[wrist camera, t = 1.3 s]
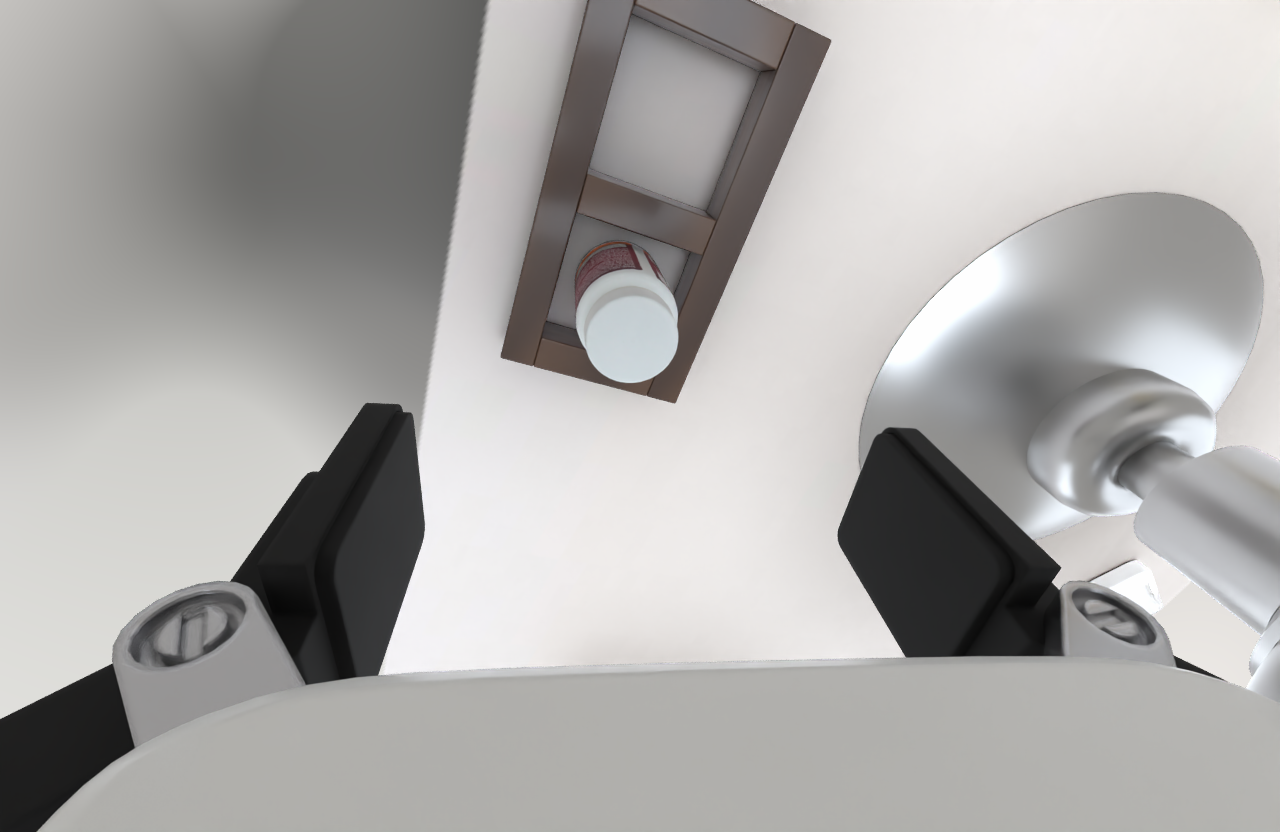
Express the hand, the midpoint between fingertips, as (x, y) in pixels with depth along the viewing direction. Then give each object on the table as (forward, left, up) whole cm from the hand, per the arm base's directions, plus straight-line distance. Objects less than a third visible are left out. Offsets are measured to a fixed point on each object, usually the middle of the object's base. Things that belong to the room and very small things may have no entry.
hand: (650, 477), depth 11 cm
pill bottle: (+2, -1, -21) cm, 21 cm away
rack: (+1, +3, -21) cm, 21 cm away
